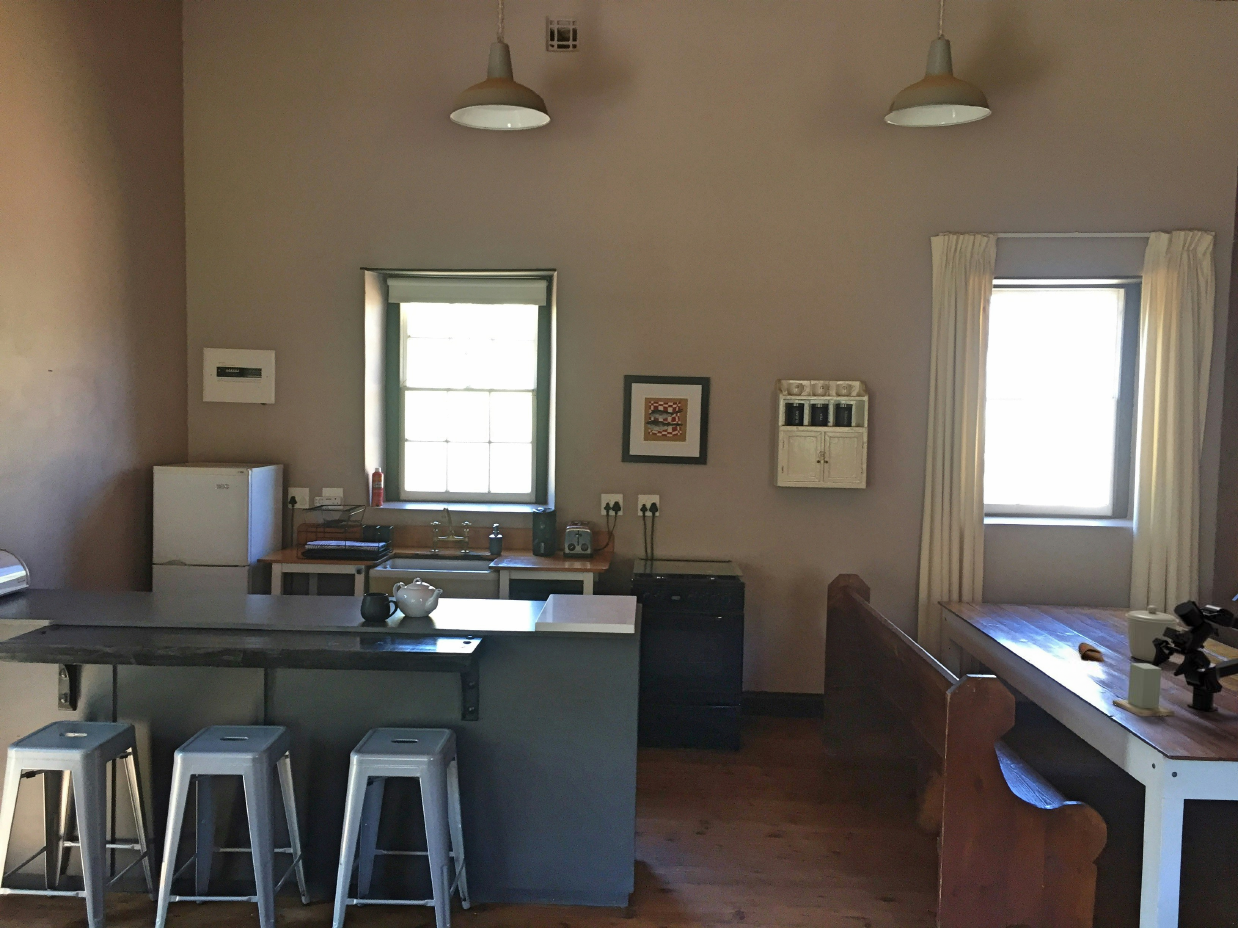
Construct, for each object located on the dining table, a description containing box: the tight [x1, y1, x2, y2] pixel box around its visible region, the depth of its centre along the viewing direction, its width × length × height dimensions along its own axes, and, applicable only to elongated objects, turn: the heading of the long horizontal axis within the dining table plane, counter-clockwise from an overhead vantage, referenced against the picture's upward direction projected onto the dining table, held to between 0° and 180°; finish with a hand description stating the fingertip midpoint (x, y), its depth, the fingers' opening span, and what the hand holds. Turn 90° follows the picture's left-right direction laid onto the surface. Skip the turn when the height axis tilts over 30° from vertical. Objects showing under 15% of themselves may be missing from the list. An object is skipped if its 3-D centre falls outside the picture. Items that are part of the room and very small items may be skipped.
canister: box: [1124, 605, 1180, 663], centre depth 347 cm, size 18×18×21 cm
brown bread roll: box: [1077, 642, 1106, 663], centre depth 350 cm, size 18×7×7 cm, turn 157°
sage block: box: [1127, 662, 1162, 708], centre depth 281 cm, size 6×6×12 cm
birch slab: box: [1112, 699, 1175, 717], centre depth 281 cm, size 12×12×2 cm
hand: (1163, 671), depth 282 cm, fingers open, 9 cm apart
